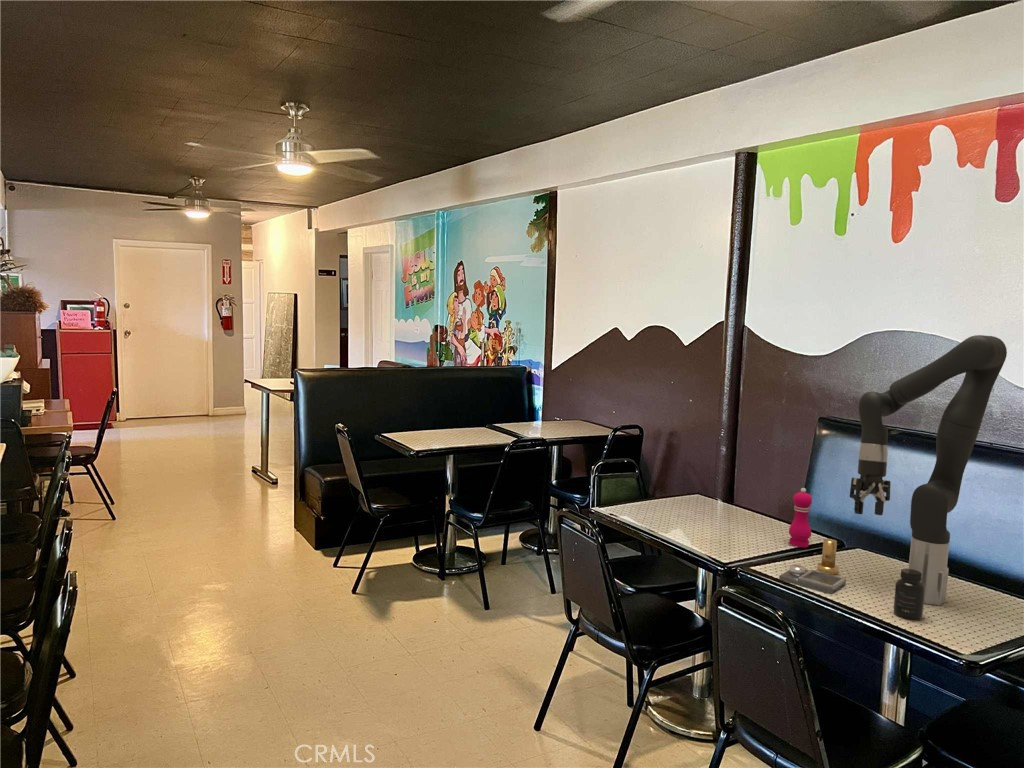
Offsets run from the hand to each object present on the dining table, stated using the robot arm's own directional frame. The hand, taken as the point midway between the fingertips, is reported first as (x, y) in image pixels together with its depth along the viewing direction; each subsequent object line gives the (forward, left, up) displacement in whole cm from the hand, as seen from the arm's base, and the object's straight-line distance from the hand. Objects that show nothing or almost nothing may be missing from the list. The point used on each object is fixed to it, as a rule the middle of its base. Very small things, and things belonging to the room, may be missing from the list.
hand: (868, 514), depth 212 cm
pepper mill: (+28, -22, -21) cm, 41 cm away
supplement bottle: (-16, +17, -21) cm, 31 cm away
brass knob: (+11, -1, -21) cm, 23 cm away
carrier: (+11, +11, -21) cm, 26 cm away
